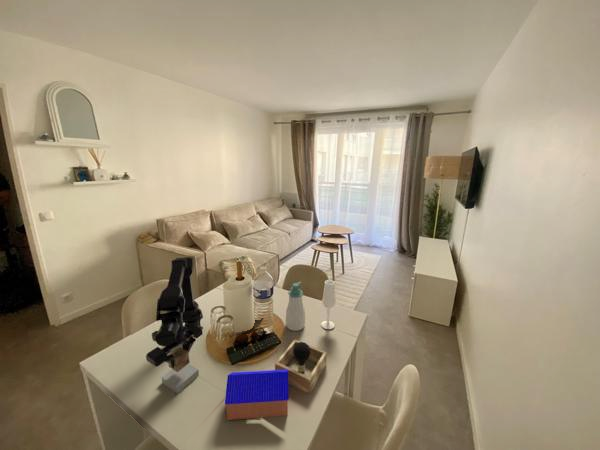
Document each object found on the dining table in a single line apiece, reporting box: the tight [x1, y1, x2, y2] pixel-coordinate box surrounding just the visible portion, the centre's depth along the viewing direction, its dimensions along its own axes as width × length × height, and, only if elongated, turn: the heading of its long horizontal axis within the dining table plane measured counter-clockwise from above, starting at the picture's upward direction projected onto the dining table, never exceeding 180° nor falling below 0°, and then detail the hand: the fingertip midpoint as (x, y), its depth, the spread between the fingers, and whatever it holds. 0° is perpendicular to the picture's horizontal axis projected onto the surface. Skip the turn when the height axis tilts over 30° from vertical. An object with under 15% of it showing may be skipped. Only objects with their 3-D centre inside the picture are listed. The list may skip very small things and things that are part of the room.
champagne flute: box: [321, 279, 336, 330], centre depth 120 cm, size 7×7×24 cm
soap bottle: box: [285, 281, 306, 332], centre depth 120 cm, size 10×10×23 cm
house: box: [224, 369, 289, 421], centre depth 82 cm, size 12×20×12 cm, turn 95°
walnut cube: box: [168, 346, 191, 372], centre depth 89 cm, size 5×5×5 cm
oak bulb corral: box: [274, 339, 328, 395], centre depth 95 cm, size 15×15×6 cm
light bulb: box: [293, 341, 310, 373], centre depth 94 cm, size 7×7×12 cm
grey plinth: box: [161, 363, 200, 395], centre depth 91 cm, size 9×9×3 cm
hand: (179, 362), depth 90 cm, fingers closed on walnut cube, 5 cm apart
